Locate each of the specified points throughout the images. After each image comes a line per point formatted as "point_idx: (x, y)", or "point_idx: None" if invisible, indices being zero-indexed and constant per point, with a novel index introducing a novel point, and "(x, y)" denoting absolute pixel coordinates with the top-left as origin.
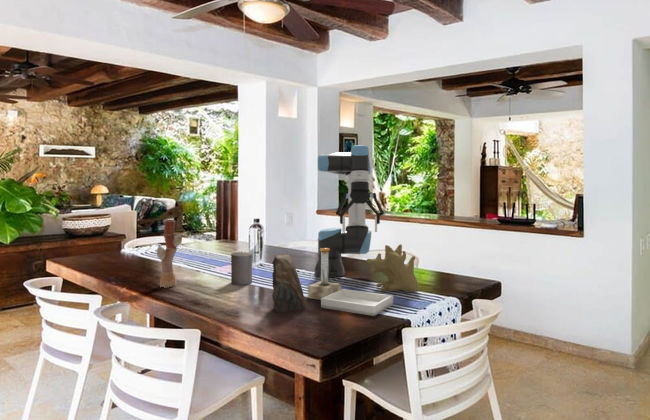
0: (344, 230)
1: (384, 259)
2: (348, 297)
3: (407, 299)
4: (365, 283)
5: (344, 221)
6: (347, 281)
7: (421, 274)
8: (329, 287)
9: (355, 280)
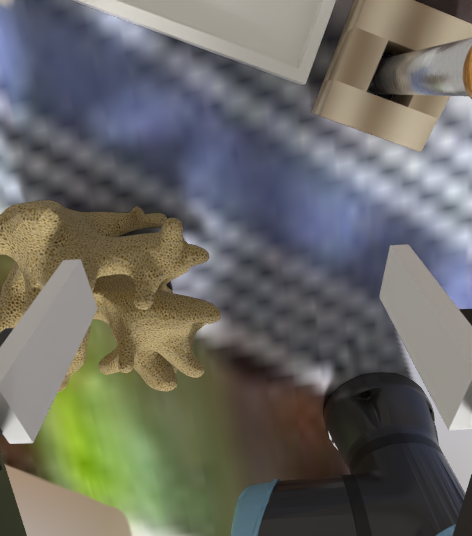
0: (390, 272)
1: (113, 261)
2: (273, 37)
3: (43, 108)
4: (238, 317)
5: (432, 334)
6: (305, 333)
7: (84, 450)
8: (372, 12)
9: (278, 350)
